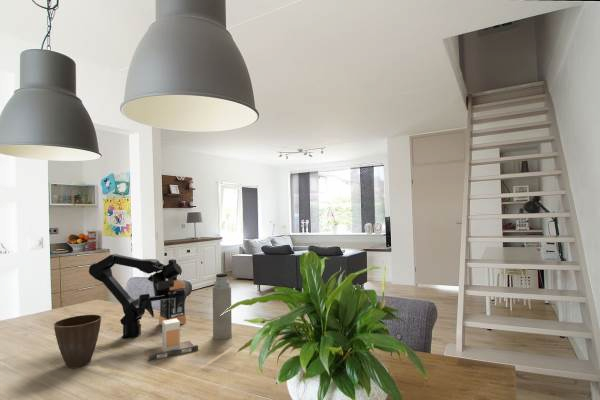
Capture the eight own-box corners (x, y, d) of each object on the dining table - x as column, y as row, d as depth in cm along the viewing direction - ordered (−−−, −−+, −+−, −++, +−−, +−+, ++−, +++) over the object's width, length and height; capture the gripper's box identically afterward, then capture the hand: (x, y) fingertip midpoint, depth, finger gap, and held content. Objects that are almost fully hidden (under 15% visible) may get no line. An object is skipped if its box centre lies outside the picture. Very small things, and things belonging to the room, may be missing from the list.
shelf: (149, 363, 130) (149, 356, 130) (143, 352, 141) (143, 345, 141) (198, 352, 140) (198, 345, 140) (189, 343, 151) (189, 336, 151)
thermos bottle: (220, 334, 161) (220, 272, 162) (235, 336, 158) (234, 273, 159) (209, 340, 154) (208, 275, 155) (224, 342, 150) (223, 276, 151)
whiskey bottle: (177, 319, 186) (177, 257, 187) (186, 323, 179) (186, 259, 180) (158, 324, 179) (157, 260, 180) (167, 328, 172) (166, 261, 173)
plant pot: (50, 376, 121) (50, 329, 122) (56, 361, 134) (57, 318, 135) (100, 367, 128) (100, 322, 129) (101, 353, 141) (102, 312, 142)
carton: (165, 355, 136) (165, 324, 136) (162, 350, 140) (162, 320, 141) (180, 351, 138) (180, 321, 139) (176, 347, 143) (176, 318, 144)
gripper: (139, 275, 151) (142, 307, 141) (184, 271, 160) (190, 300, 150) (136, 291, 157) (140, 322, 147) (180, 286, 167) (186, 315, 157)
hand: (164, 314), depth 150 cm, fingers open, 9 cm apart
